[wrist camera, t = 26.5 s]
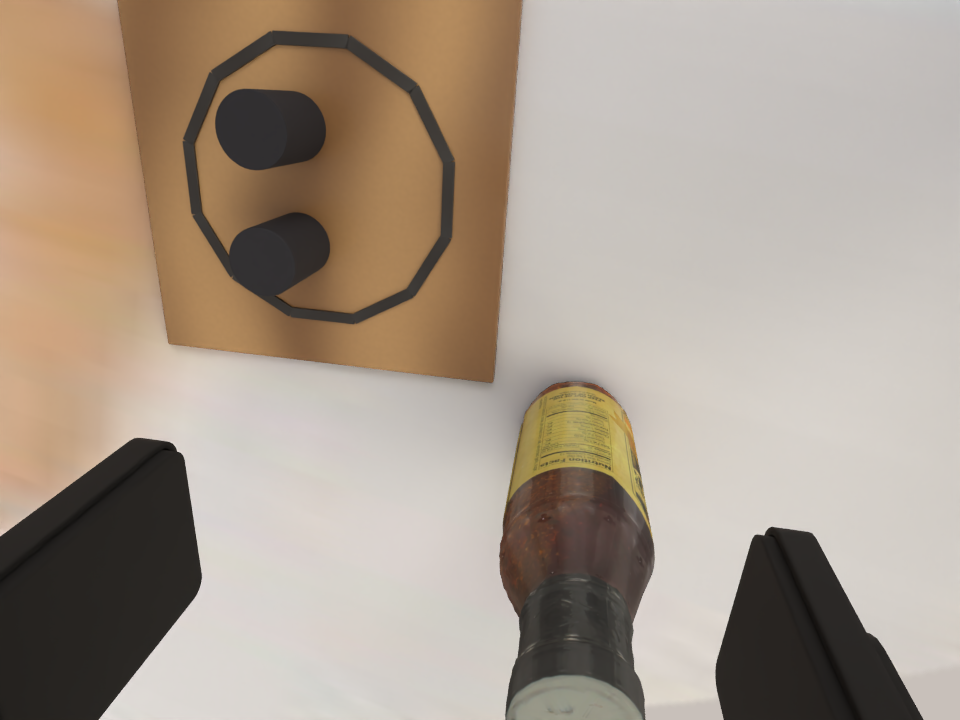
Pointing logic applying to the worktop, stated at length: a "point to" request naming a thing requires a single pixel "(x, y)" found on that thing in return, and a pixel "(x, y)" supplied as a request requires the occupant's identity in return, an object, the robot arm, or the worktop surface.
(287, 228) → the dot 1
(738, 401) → the worktop surface
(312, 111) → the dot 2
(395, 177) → the board
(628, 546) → the sauce bottle
